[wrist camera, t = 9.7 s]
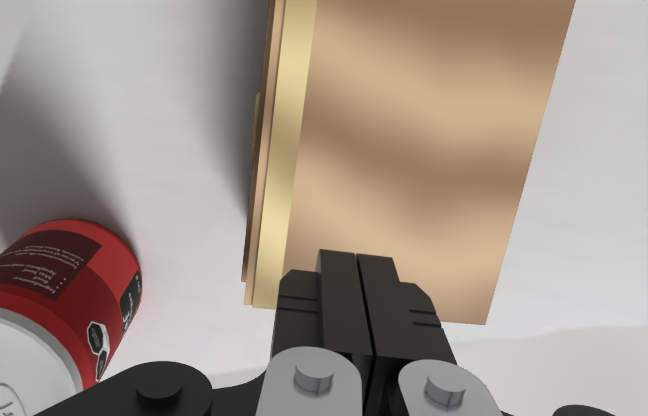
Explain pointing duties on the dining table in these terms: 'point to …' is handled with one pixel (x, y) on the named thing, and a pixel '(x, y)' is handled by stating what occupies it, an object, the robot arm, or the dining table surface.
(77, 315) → the canned food
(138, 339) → the dining table surface
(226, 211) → the dining table surface
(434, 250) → the lid
